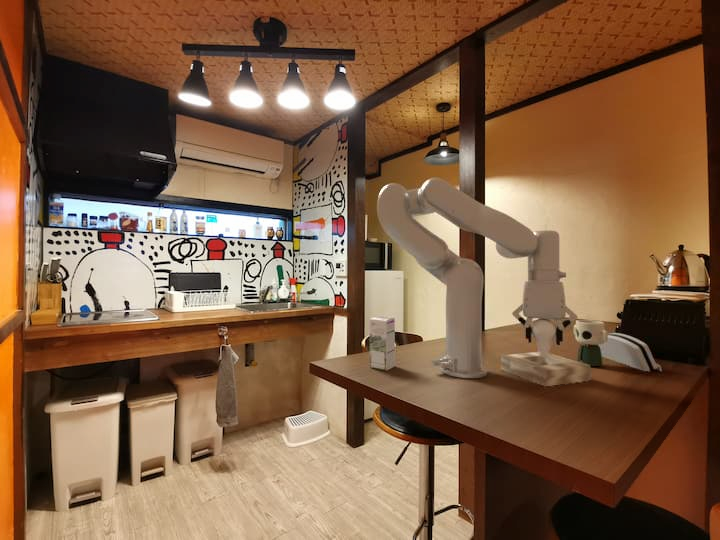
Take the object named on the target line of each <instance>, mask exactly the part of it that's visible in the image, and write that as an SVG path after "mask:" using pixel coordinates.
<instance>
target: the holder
mask: <svg viewBox="0 0 720 540" xmlns="http://www.w3.org/2000/svg"><path fill="white" fill-rule="evenodd" d="M500 370H502V371H503V372H505V373H509V374H511V373H512V374H511V375H513V374H514V375H513V376H516V375H517V376H516V377H518V376H520V377H519V378H521V377H522V378H521V379H523V378H525V379H524V380H526V379H528V380H530V381H529V382H531V381H533V382H535V383H537V384H536V385H538V384H540V385H543V386H551V385H558V384H565V383H572V384H576V383H575V382H579V383H583V382H582V381H586V382H590V381H591V366H590V365H588V364H584V363H583V362H581V361H580V362H577V360H573V359H569V358H566V357H564V356H559V355H556V354H553V353H549V357H548V358H546V359H542V358H541V357H539V356H538V351H532V352H523V353H522V352H521V353H513V354H503V355H500ZM528 380H527V381H528ZM589 380H590V381H589ZM533 382H532V383H533ZM535 383H534V384H535ZM540 385H539V386H540ZM565 385H566V384H565ZM543 386H542V387H543ZM558 386H559V385H558ZM551 387H552V386H551Z"/></svg>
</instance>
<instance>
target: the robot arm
mask: <svg viewBox="0 0 720 540" xmlns="http://www.w3.org/2000/svg"><path fill="white" fill-rule="evenodd" d="M377 196H378V197H377V203H376V214H377V218H378V221H379V224H380V226H381V227H382V230H383V231H384V232H385V234H386V235H387V236H388V237H389V238H390V239H391V240H392V241H393V242H394V243H395V244H396V245H398V246H400V247H401V248H402V249H403V250H404V251H405V252H406V253H408V254H409V255H411V256H412V257H413V258H414V259H415V261H416V262H417V264H418V265H419V266H420V267H421V268H423V269H424V270H425V271H426V272H428V273H429V274H431V275H432V276H433V278H436V279H437V280H438V281H440V282H441V283H442V284H443V285H444V286H446V291H445V292H446V294H445V353H442V355H441V357H440V358H431V359H430V363H429V364H430V366H431V367H439V368H440V369H439V370H440V371H441V373H443V374H444V375H448V376H451V377H455V378H461V379H479V378H480V379H481V378H483V377H486V376H487V375H488V368H487V367H485V366H484V365H482V352H483V351H482V346H483V345H482V339H483V338H482V333H483V332H482V331H483V330H482V326H483V325H482V318H483V317H482V306H483V305H482V300H483V291H484V272H483V271H482V270H483V269H482V268H481V266H480V265H479V264H478V263H477V262H476V261H474V260H473V259H470V258H463V257H460V256H459V255H458V254H456V253H455V252H453V250H451V249H450V248H449V246H448V244H447V242H445V240H444V239H442V238H441V237H439V236H438V235H436V234H435V233H433V232H432V231H430V230H429V229H428V228H427V227H425V226H423V225H422V224H421V223H420V222H419V221H417V219H415V218H414V217H418V216H424V215H430V214H435V213H436V214H437V215H440V216H441V217H443V219H445V220H447V221H449V222H450V223H451V224H453V225H454V226H456V227H457V228H459V229H461V230H463V231H465V232H468V233H474V234H478V235H481V236H483V237H484V238H485V237H486V238H487V239H489V240H491V241H493V242H494V243H495V249H496V251H497V253H498V254H499V256H501V257H503V258H505V259H511V260H512V259H518V258H521V259H523V258H527V281H525V282H524V285H523V290H522V291H523V292H522V303H521V304H520V305H519V306H518V307H517V308H516V309H515V310H513V312H512V313H511V314H512V316H513V317H514V318H515V319H516V320H517V321H518V322H519V323H520V324H521V325H523V326H524V327H525V339H526V340H528V344H529V343H532V332H531V325H532V322H533V319H548V320H554V321H555V323H556V325H557V326H556V329H557V330H556V335H555V343H556V345H557V346H561V343H562V342H563V341H564V335H563V333H564V332H563V331H564V330H565V329H566V328H567V327H568V326H569V325H571V324H572V323H573V322H575V321H577V320H578V315H577V314H575V313H574V311H572V310H571V309H570V308H569V307H568V306H567V304H566V295H565V287H564V283H563V282H562V281H560V280H561V279H563V278H567V272H564V271H561V269H560V234H559V232H557V231H555V230H547V229H546V230H536V231H532V230H531V229H530V228H529V227H527V226H526V225H524V224H523V223H521V222H520V221H518V220H517V219H515V218H513V217H511V216H510V215H508V214H506V213H504V212H502V211H500V210H498V209H495V208H492V207H490V206H488V205H486V204H483V203H482V202H480V201H478V200H476V199H474V198H472V197H471V196H469V194H468V195H467V194H466V193H464V191H461V190H460V189H458V188H457V187H456V186H454V185H452V183H451V184H450V183H449V182H447V181H446V180H444V179H442V178H439V177H431V178H429V179H427V180H426V181H424V183H422V186H420V187H418V188H413V189H409V190H408V189H407V188H405V187H404V186H403V185H401V184H400V183H394V182H391V183H388V184H386V185H385V186H383V187H382V188H381V189H380V192H379V194H378V195H377ZM521 312H522V314H523V316H524V317H523V316H522V315H521V314H520V313H521ZM566 315H568V316H569V317H567V319H565V318H566ZM525 317H526V319H525ZM563 319H565V320H563ZM562 320H563V322H562Z"/></svg>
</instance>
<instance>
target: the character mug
mask: <svg viewBox="0 0 720 540" xmlns="http://www.w3.org/2000/svg"><path fill="white" fill-rule="evenodd" d="M605 328H606V327H605V322H603V321H600V320H592V319H576V320H575V324H574V325H573V334H574V336H575V340H576V341H577V342H578V343H580V345H579V347H578V351H577V352H578V353H577V360H576V361H577V362H581V361H582V363H584V364H588V365H590V367H591V366H592V367H596V366H601V365H603V364H604V363H603V357H602V355H601V349H600V347H599V346H598V345H601V344H604V342H607V340H608V334H609V333H608V331H607V330H605Z"/></svg>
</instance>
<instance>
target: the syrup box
mask: <svg viewBox="0 0 720 540" xmlns="http://www.w3.org/2000/svg"><path fill="white" fill-rule="evenodd" d="M368 323H369V368H370V369H375V370H381V371H389V370H390V369H392V368H395V366H396V355H395V354H396V353H395V352H396V349H395V348H396V345H395V344H396V343H395V341H396V340H395V334H396V330H395V327H396V325H395V323H396V320H395V317H389V316H388V317H387V316H373V317H371V318H369V322H368Z"/></svg>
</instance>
